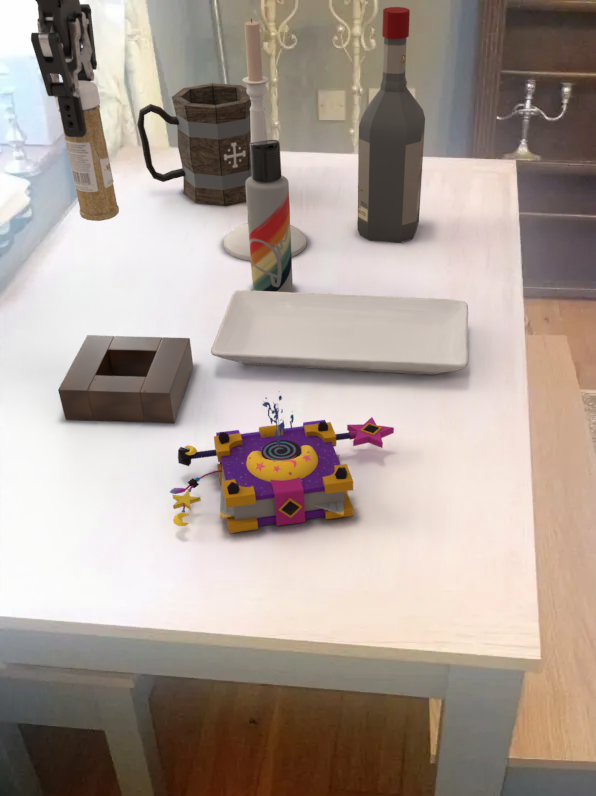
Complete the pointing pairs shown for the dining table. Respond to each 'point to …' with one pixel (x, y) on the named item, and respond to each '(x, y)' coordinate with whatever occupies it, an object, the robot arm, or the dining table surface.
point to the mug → (208, 142)
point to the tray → (344, 332)
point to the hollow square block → (127, 379)
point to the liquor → (391, 145)
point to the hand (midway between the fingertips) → (82, 127)
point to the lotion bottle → (269, 219)
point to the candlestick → (256, 140)
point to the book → (279, 473)
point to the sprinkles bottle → (91, 161)
